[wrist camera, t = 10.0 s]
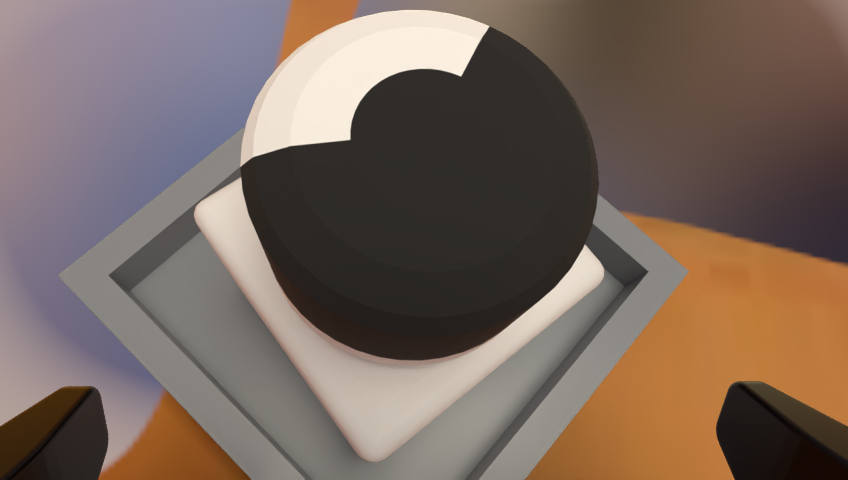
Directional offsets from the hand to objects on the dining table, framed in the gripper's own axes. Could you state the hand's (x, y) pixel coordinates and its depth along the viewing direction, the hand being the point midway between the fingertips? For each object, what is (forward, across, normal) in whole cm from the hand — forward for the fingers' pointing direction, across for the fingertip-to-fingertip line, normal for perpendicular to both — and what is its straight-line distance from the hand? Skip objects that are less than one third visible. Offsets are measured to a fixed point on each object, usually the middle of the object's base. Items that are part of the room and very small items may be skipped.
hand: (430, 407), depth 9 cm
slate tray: (+12, 0, +5) cm, 13 cm away
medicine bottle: (+11, 0, +5) cm, 12 cm away
